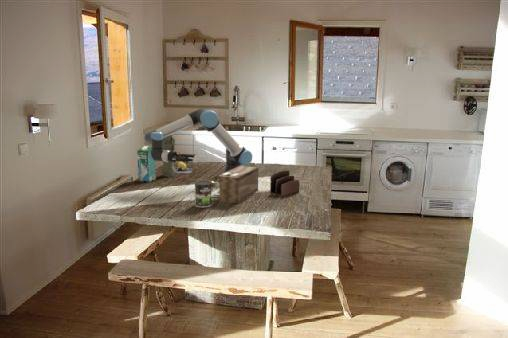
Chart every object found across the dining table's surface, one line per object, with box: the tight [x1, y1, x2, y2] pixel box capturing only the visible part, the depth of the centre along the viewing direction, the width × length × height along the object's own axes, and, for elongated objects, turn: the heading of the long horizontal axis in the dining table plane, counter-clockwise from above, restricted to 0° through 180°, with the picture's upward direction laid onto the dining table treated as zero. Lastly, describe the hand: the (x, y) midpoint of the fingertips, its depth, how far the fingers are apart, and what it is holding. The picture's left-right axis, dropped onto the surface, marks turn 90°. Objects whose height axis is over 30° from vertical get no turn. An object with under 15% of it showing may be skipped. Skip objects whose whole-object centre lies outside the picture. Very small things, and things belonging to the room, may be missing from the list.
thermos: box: [162, 134, 176, 178], centre depth 353 cm, size 9×12×35 cm
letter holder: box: [269, 170, 300, 198], centre depth 311 cm, size 10×20×14 cm, turn 138°
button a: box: [210, 180, 219, 189], centre depth 297 cm, size 13×5×5 cm, turn 67°
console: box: [217, 165, 259, 204], centre depth 303 cm, size 14×33×17 cm, turn 158°
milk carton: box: [136, 145, 157, 183], centre depth 339 cm, size 9×9×25 cm
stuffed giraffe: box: [174, 151, 194, 174], centre depth 372 cm, size 16×18×16 cm
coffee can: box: [194, 180, 212, 209], centre depth 281 cm, size 10×10×14 cm
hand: (200, 159), depth 299 cm, fingers open, 7 cm apart
